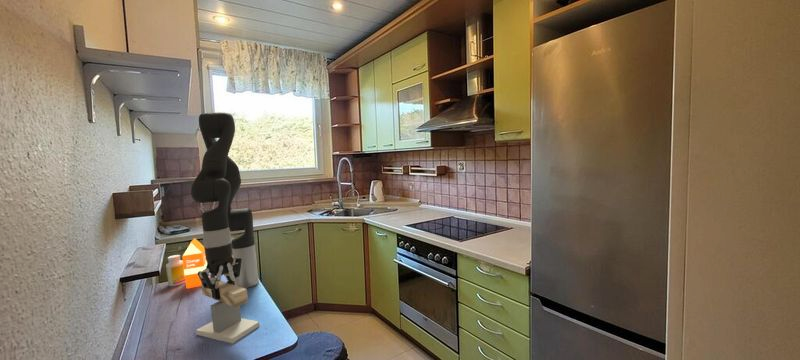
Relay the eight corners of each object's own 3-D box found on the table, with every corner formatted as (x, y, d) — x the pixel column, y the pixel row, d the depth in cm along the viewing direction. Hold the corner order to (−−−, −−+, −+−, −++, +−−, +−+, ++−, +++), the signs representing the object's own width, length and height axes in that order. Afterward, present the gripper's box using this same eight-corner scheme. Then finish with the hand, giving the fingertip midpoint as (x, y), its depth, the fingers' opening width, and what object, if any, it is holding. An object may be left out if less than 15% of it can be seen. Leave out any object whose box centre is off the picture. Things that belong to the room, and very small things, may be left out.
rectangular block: (248, 301, 99) (246, 289, 99) (235, 307, 96) (233, 294, 95) (214, 289, 110) (213, 278, 110) (202, 294, 107) (200, 282, 107)
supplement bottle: (189, 281, 151) (186, 254, 150) (177, 286, 145) (173, 258, 143) (178, 280, 152) (174, 253, 151) (164, 286, 146) (161, 258, 145)
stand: (196, 334, 102) (192, 304, 102) (225, 318, 111) (221, 290, 111) (232, 343, 96) (228, 311, 95) (259, 326, 105) (256, 296, 104)
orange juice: (186, 288, 142) (180, 243, 140) (190, 281, 150) (185, 239, 148) (206, 284, 144) (201, 240, 143) (209, 278, 153) (204, 236, 151)
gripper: (229, 236, 109) (235, 285, 111) (187, 249, 96) (194, 304, 98) (245, 237, 106) (251, 287, 108) (204, 250, 93) (211, 308, 95)
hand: (224, 295), depth 103 cm, fingers closed on rectangular block, 4 cm apart
